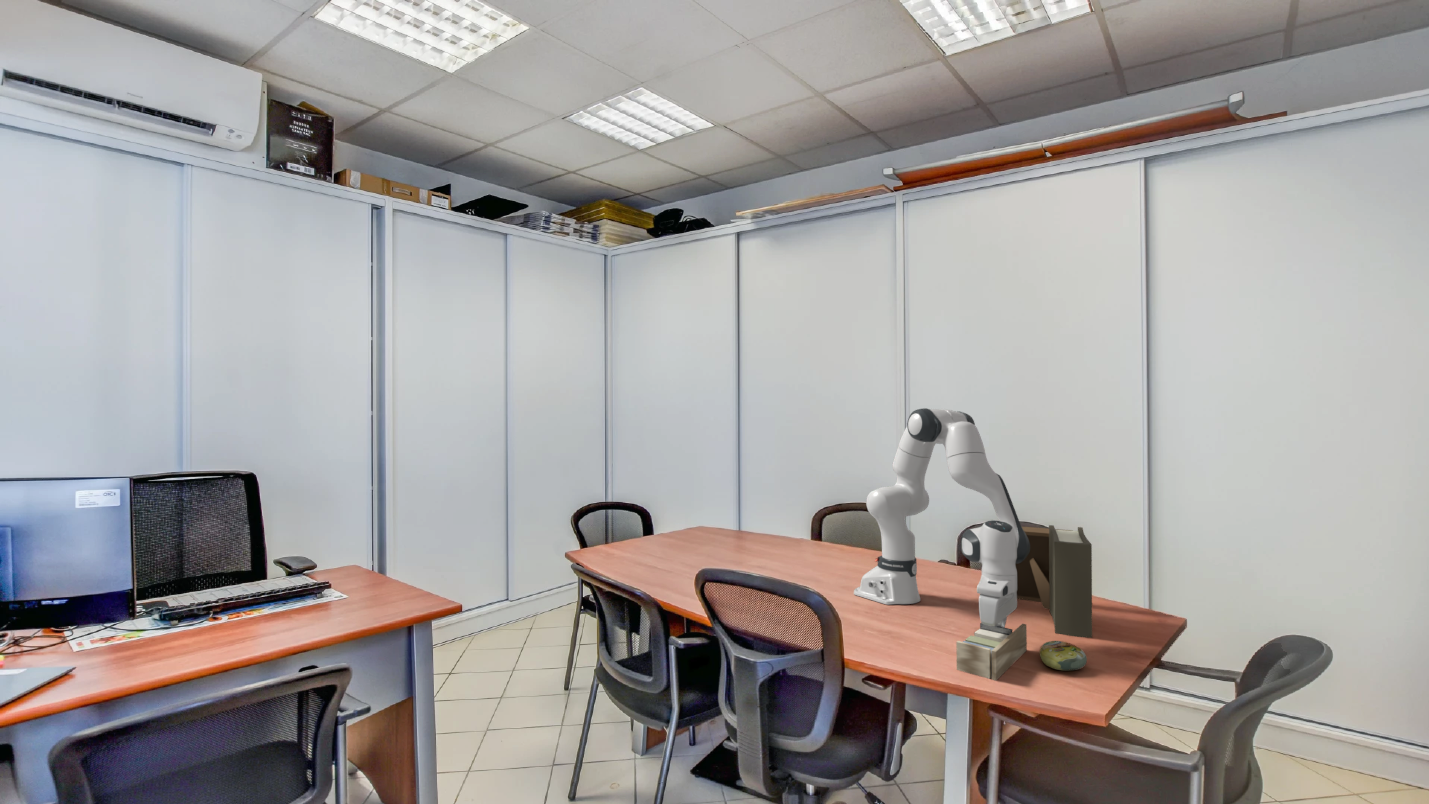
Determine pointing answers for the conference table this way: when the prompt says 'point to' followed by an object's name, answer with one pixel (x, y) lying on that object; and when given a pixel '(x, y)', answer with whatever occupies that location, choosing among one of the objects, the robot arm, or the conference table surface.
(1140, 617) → the conference table surface
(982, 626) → the bookend
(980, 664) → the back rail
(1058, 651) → the cell model
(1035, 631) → the conference table surface
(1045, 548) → the photo frame
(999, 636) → the book ivory
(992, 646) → the book olive
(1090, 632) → the book
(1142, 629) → the conference table surface
